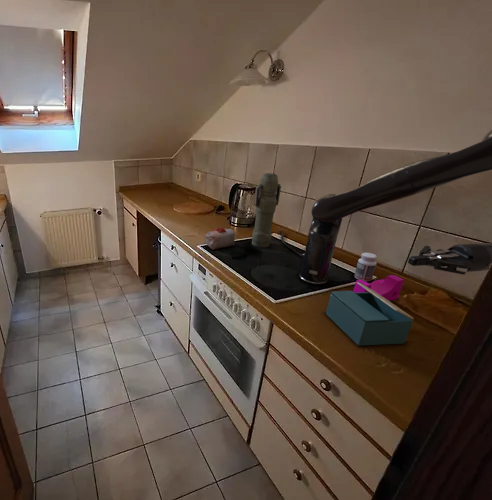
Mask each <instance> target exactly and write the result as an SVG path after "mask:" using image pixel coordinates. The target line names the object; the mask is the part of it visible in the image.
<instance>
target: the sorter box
mask: <svg viewBox="0 0 492 500" xmlns="http://www.w3.org/2000/svg"><path fill="white" fill-rule="evenodd" d="M325 315H326V316H327V317H328V318H330V319H331V320H332V321H333V322H334V324H335V325H337V326H338V327H339V328H340V329H341V330H342V331H343V332H344V333H345V334H346V335H347V336H348V338H350V339H351V340H352V341H353V342H354V343H355V344H356V345H357V346H378V345H380V346H381V345H400V344H405V343H406V340H407V338H408V336H409V333H410V330H411V329H412V325H413V323H414V320H413V319H411V318H409V317H407V316H405V315H403V314H401V313H399V312H397V311H396V310H394V309H393V308H391V307H390V306H389V305H387V304H386V303H384V302H383V301H382V300H380V299H379V298H377V297H376V296H374V295H373V294H372V293H370V292H361V293H354V292H353V290H340V291H339V290H334V291H331V293H330V294H329V300H328V303H327V306H326V311H325Z"/></svg>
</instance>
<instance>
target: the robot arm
mask: <svg viewBox="0 0 492 500" xmlns="http://www.w3.org/2000/svg"><path fill="white" fill-rule="evenodd" d="M488 171H492V129H491V130H489V131H488V132H487V133H486V134H484V136H483V137H482V139H481V140H480V141H479V142H477V143H475V144H472V145H469V146H468V147H465V148H463V149H460V150H457V151H455V152H451V153H448V154H443V155H439V156H435V157H434V156H433V157H430V158H426V159H425V158H424V159H421V160H418V161H414V162H411V163H408V164H404V165H402V166H400V167H397V168H394V169H391V170H389V171H387V172H384V173H383V174H381V175H378V176H376V177H374V178H372V179H371V180H369V181H367V182H365V183H363V184H362V185H359V186H357V187H355V188H353V189H351V190H347V191H345V192H342V193H339V194H337V193H326V194H323V195H322V196H320V197H319V198H317V200H316V201H314V203H313V205H312V208H311V217H312V220H311V223H310V227H309V230H308V233H307V238H306V239H307V240H306V244H305V249H304V252H303V253H300V252H299V251H297V250H296V249H294V248H292V247H291V246H290V245H289V244H288V243H286V241H284V236H285V235H284V230H283V229H281V230H280V231H279V233H281V235H280V236H281V238H280V240H281V242H282V244H283V245H284V246H285V247H286V248H287V249H289V250H291V251H292V252H293V253H294V254H297V255H298V256H300V257H301V258H300V264H299V267H298V268H299V269H298V274H297V275H298V277H299V279H300V280H301V281H302V282H304V283H305V284H306V283H307V284H309V285H314V286H315V285H316V286H322V285H326V284H327V282H328V278H329V272H330V270H331V265H332V260H333V257H334V253H335V248H336V245H337V240H338V236H339V233H340V230H341V225H342V222H343V218H346V217H347V216H351V215H353V214H355V213H358V212H360V211H361V212H362V211H364V210H366V209H371V208H375V207H379V206H382V205H386V204H388V203H392V202H395V201H396V202H397V201H399V200H402V199H406V198H409V197H412V196H415V195H418V194H421V193H424V192H426V191H429V190H433V189H435V188H438V187H442V186H444V185H446V184H449V183H452V182H454V181H457V180H460V179H463V178H466V177H469V176H473V175H477V174H480V173H485V172H488ZM407 263H408V264H409V265H411V266H412V267H417V266H418V267H420V266H425V267H429V268H431V267H432V268H433V269H434V270H437V271H443V272H448V273H453V274H458V275H466V273H469V272H470V273H472V272H485V271H486V272H488V271H489V270H488V269H489V266H490V264H491V263H492V243H491V242H478V243H477V242H476V243H463V244H460V243H459V244H456V245H452V246H451V247H449V248H447V249H441V248H439V249H436V250H435V249H432V248H431V246H430V245H424V246H423V248H422V249H421V250H420V251H419V253H418V255H412V256H409V258H408V261H407ZM487 270H488V271H487Z"/></svg>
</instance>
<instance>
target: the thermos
mask: <svg viewBox="0 0 492 500" xmlns="http://www.w3.org/2000/svg"><path fill="white" fill-rule="evenodd" d="M281 188H282V186H281V184H280V183H279V177H278V174H276V173H271V172H270V173H269V172H268V173H267V172H266V173H264V174H262V177H261V179H260V183H259V184H257V185H256V187H255V191H254V192H255V193H254V201H253V205H254V207H255V219H254V221H255V222H254V228H253V230H252V234H251V240H252V241H251V245H252V246H254V247H255V248H261V249H262V248H264V249H265V248H269V247H270V246H271V241H272V237H273V231H272V227H273V221H274V214H275V213H276V209H277V206H279V202H280V195H281V190H282V189H281Z"/></svg>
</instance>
